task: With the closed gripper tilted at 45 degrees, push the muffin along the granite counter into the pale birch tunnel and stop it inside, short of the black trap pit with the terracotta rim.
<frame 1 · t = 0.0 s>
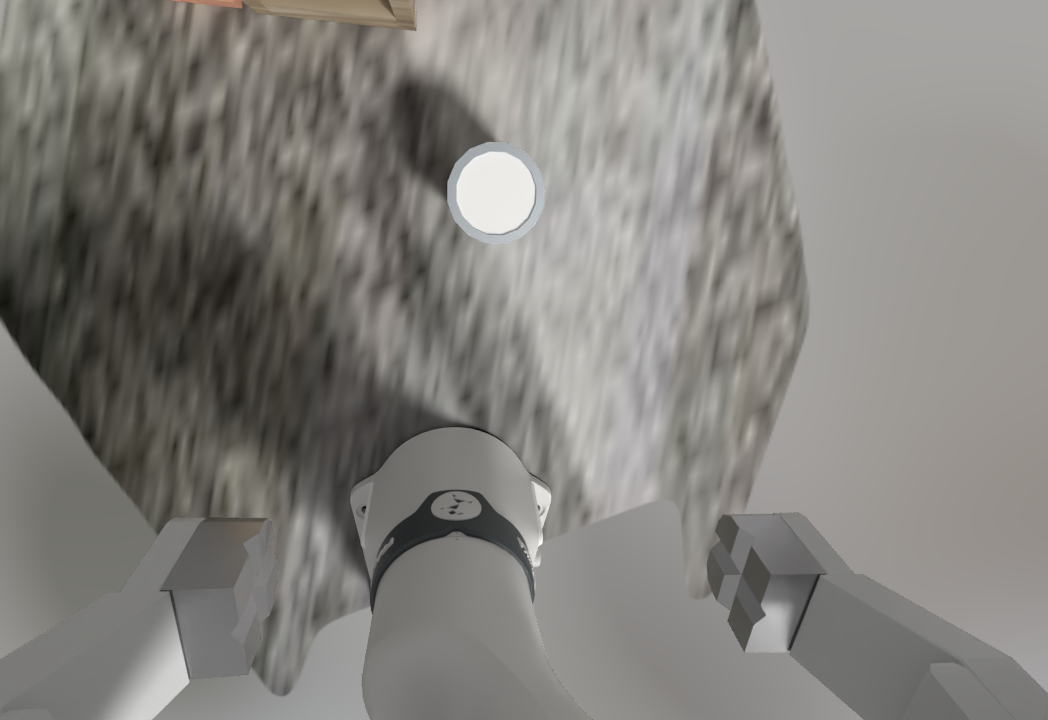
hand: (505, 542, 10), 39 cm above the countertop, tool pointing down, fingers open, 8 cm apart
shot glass: (489, 190, 46), on the countertop
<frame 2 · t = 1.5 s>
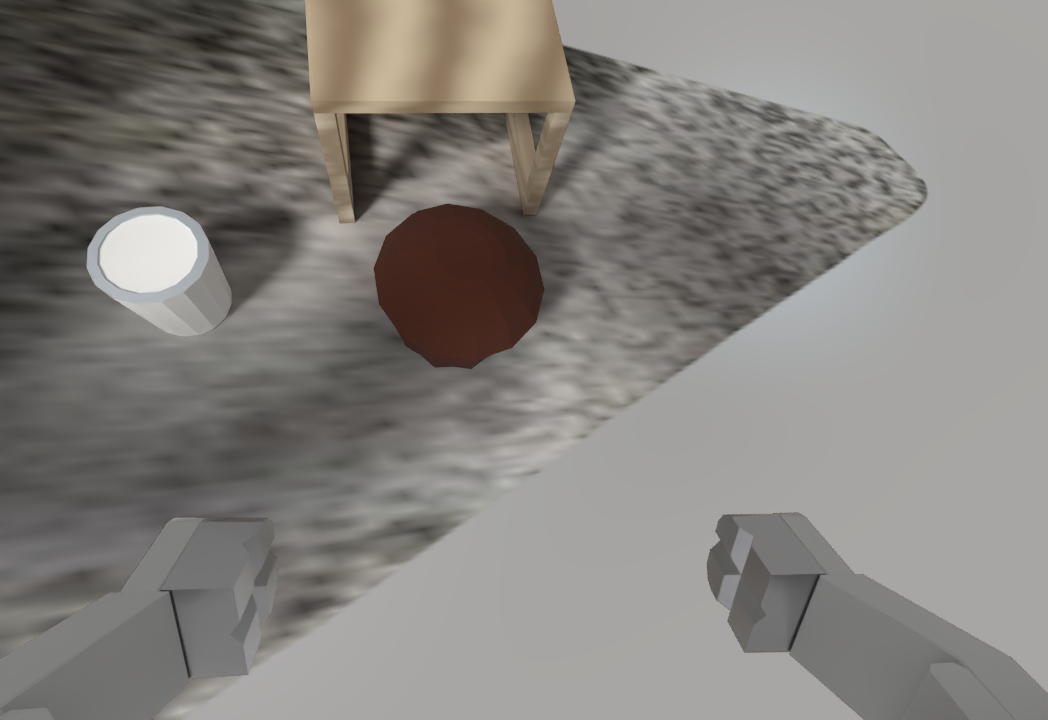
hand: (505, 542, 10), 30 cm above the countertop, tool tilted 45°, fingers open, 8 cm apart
muffin: (455, 318, 45), on the countertop
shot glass: (191, 302, 42), on the countertop
tunnel: (434, 163, 49), on the countertop
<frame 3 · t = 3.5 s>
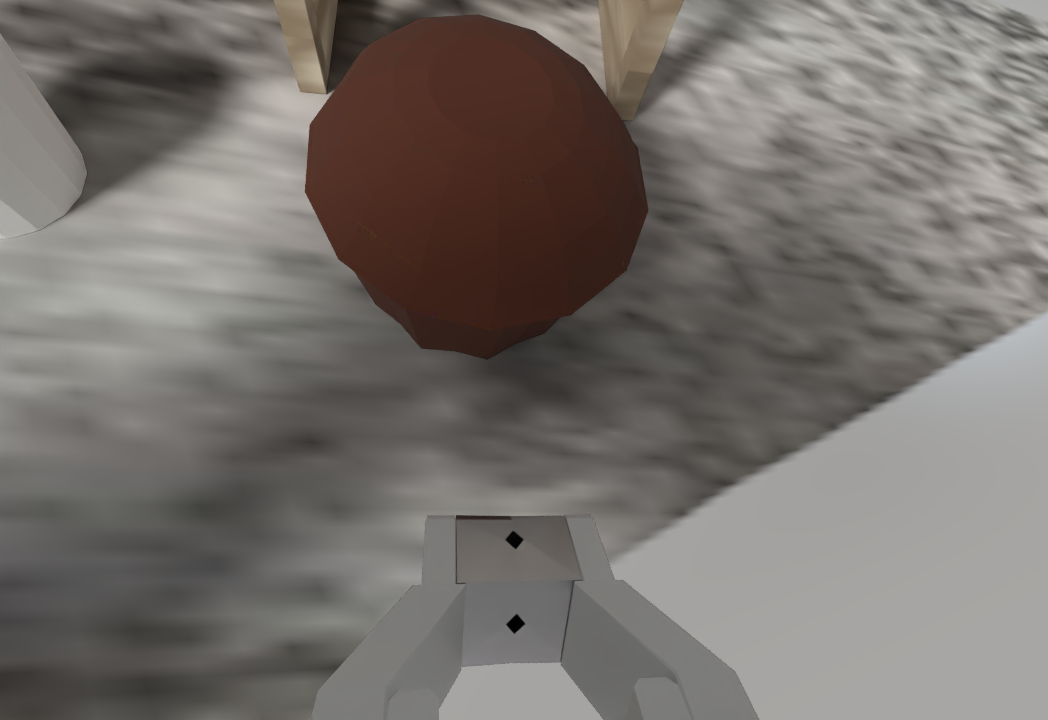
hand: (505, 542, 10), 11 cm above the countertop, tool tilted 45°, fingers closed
muffin: (471, 269, 25), on the countertop
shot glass: (13, 183, 24), on the countertop
tunnel: (473, 25, 30), on the countertop
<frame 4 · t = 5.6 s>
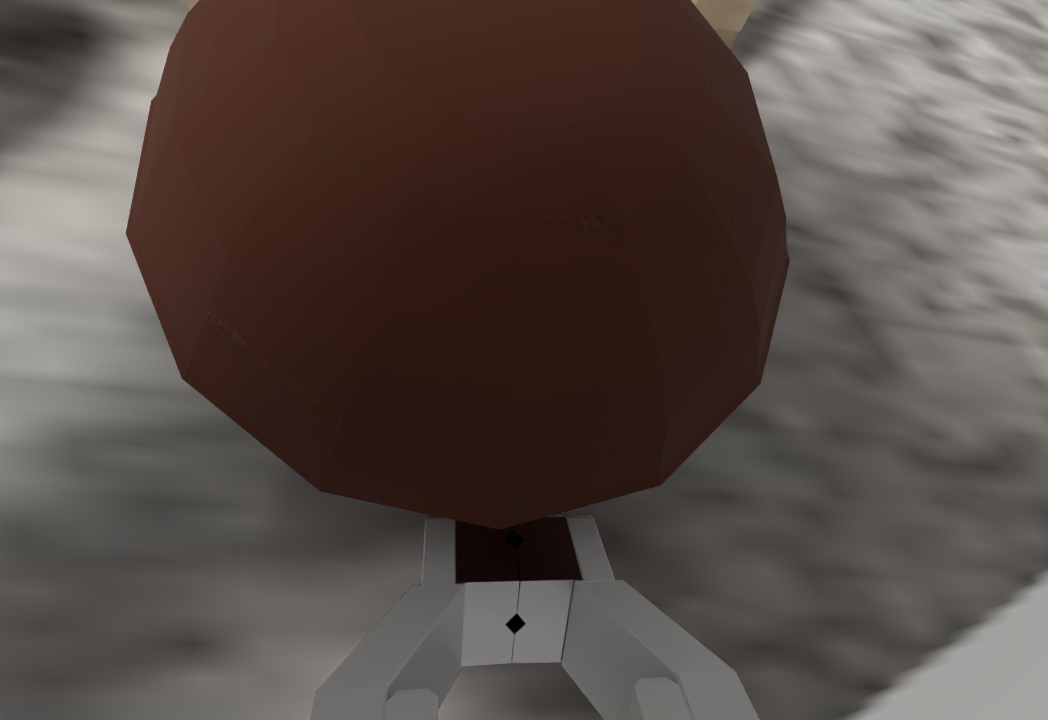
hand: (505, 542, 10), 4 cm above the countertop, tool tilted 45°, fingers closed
muffin: (465, 331, 16), on the countertop, touching gripper
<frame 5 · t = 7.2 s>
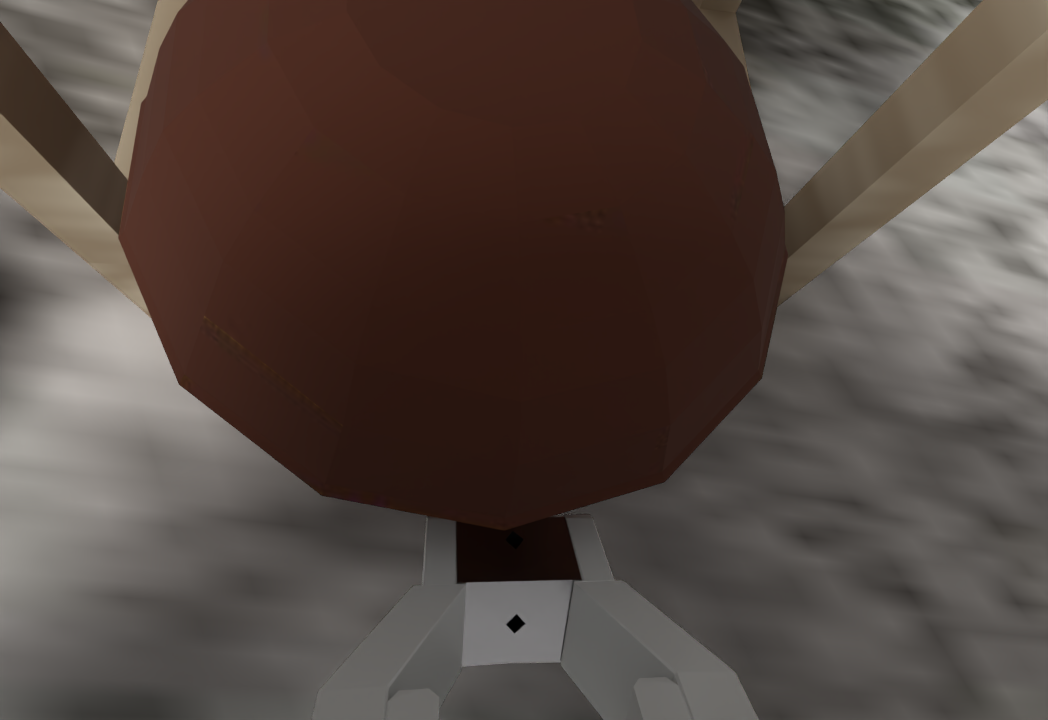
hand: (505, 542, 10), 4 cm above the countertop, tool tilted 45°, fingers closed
muffin: (462, 331, 16), on the countertop, touching gripper
tunnel: (467, 169, 18), on the countertop
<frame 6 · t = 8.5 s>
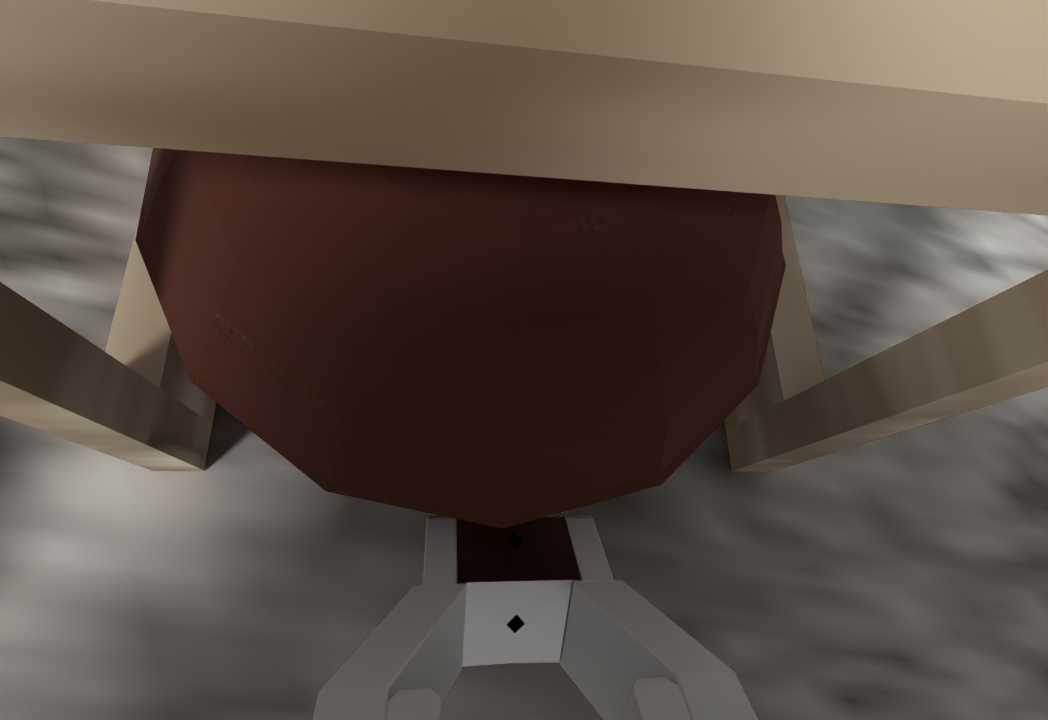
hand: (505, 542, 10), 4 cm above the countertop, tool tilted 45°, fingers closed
muffin: (467, 338, 16), on the countertop, touching gripper
tunnel: (485, 286, 17), on the countertop
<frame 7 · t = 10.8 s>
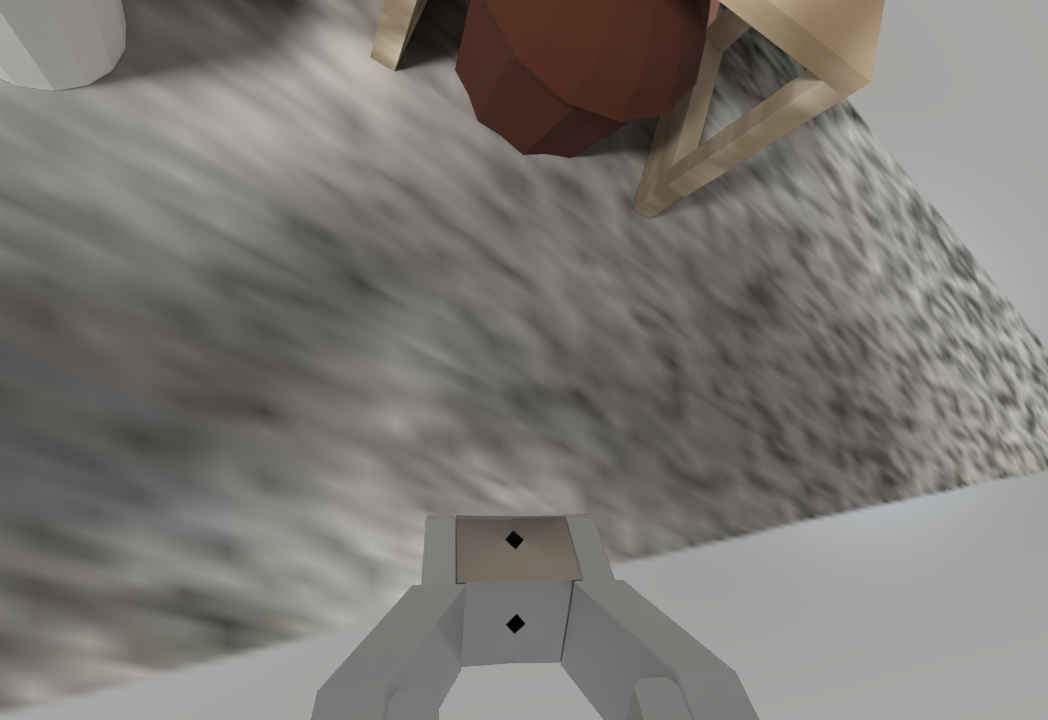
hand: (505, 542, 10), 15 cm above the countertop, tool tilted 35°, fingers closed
muffin: (534, 83, 30), on the countertop
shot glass: (40, 24, 22), on the countertop
tunnel: (553, 63, 31), on the countertop
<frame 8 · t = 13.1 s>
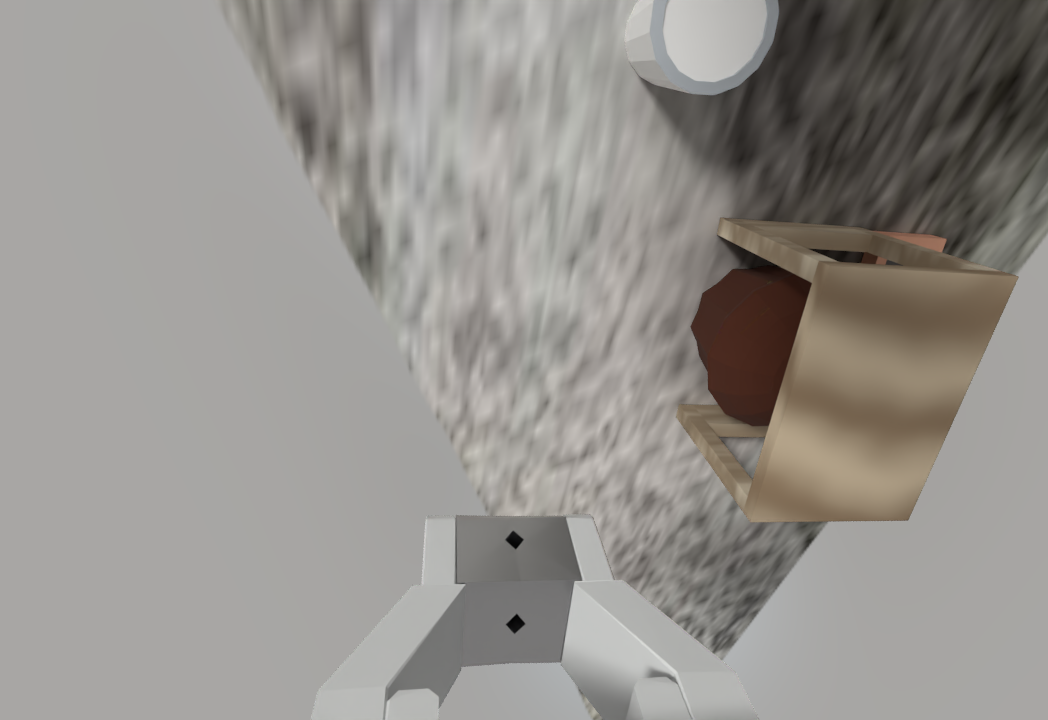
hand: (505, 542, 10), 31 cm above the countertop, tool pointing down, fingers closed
muffin: (743, 319, 44), on the countertop
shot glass: (667, 36, 35), on the countertop
tunnel: (762, 327, 45), on the countertop
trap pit: (866, 331, 46), on the countertop
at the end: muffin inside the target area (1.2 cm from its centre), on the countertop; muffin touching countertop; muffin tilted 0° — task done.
